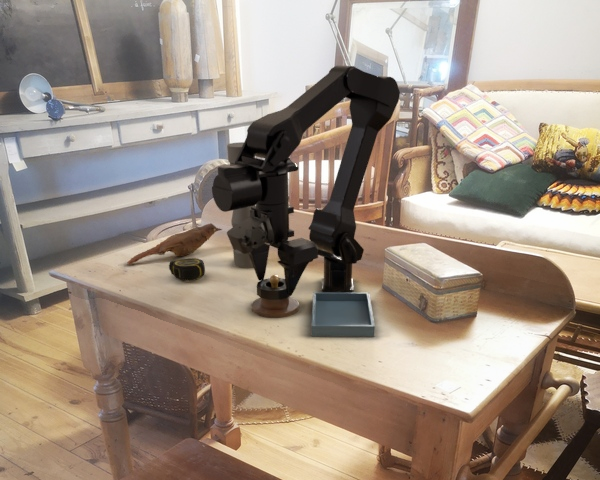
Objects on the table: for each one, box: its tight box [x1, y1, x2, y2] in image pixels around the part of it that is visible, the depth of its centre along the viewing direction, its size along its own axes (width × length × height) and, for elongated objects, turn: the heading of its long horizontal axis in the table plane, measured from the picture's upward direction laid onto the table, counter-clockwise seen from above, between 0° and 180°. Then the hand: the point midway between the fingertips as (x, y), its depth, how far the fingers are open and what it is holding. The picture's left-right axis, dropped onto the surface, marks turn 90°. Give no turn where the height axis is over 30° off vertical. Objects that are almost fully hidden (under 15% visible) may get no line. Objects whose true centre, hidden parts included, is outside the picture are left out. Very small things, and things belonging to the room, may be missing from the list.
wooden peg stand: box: [251, 274, 300, 319], centre depth 111 cm, size 9×9×6 cm
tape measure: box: [168, 257, 206, 282], centre depth 126 cm, size 7×7×4 cm
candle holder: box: [226, 141, 257, 269], centre depth 128 cm, size 6×6×25 cm
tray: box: [311, 291, 376, 338], centre depth 108 cm, size 15×11×2 cm
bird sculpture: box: [126, 222, 223, 266], centre depth 139 cm, size 7×25×5 cm, turn 127°
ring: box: [256, 277, 293, 300], centre depth 111 cm, size 7×7×2 cm
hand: (275, 286), depth 111 cm, fingers open, 9 cm apart
